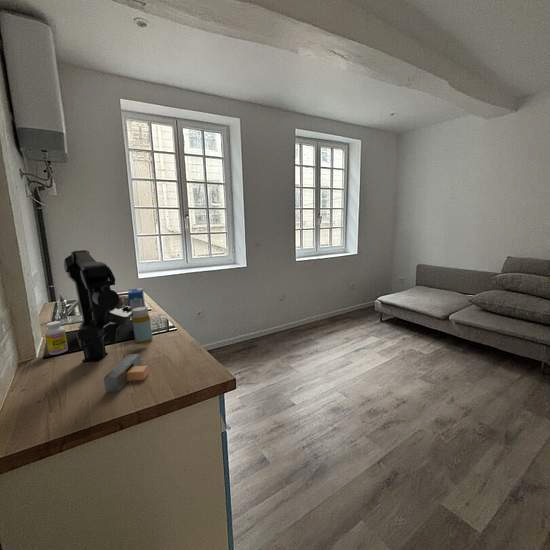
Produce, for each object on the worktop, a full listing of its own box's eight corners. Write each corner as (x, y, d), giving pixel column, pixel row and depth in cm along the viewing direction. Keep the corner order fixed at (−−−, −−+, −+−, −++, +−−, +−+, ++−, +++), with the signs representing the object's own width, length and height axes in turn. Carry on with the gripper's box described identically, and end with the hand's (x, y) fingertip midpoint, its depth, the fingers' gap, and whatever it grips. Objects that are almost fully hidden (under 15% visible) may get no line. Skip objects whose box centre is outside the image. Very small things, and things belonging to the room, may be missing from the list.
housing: (105, 392, 89) (103, 378, 88) (130, 366, 104) (128, 354, 103) (118, 391, 89) (116, 377, 88) (141, 366, 104) (139, 353, 104)
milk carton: (134, 327, 146) (129, 289, 142) (147, 325, 148) (142, 287, 145) (133, 334, 137) (127, 293, 133) (147, 331, 139) (142, 291, 136)
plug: (113, 381, 95) (112, 373, 94) (119, 375, 98) (118, 367, 98) (144, 379, 95) (143, 371, 95) (148, 373, 99) (147, 365, 98)
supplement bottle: (53, 356, 116) (46, 326, 114) (46, 353, 119) (40, 324, 117) (71, 350, 121) (66, 321, 119) (64, 347, 125) (58, 319, 123)
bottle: (132, 343, 126) (127, 310, 123) (144, 337, 132) (140, 305, 130) (144, 344, 123) (139, 311, 121) (156, 338, 130) (152, 307, 127)
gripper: (110, 310, 83) (118, 360, 85) (138, 294, 101) (144, 336, 104) (71, 312, 82) (80, 362, 85) (107, 296, 101) (113, 337, 104)
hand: (108, 348), depth 94 cm, fingers open, 6 cm apart
